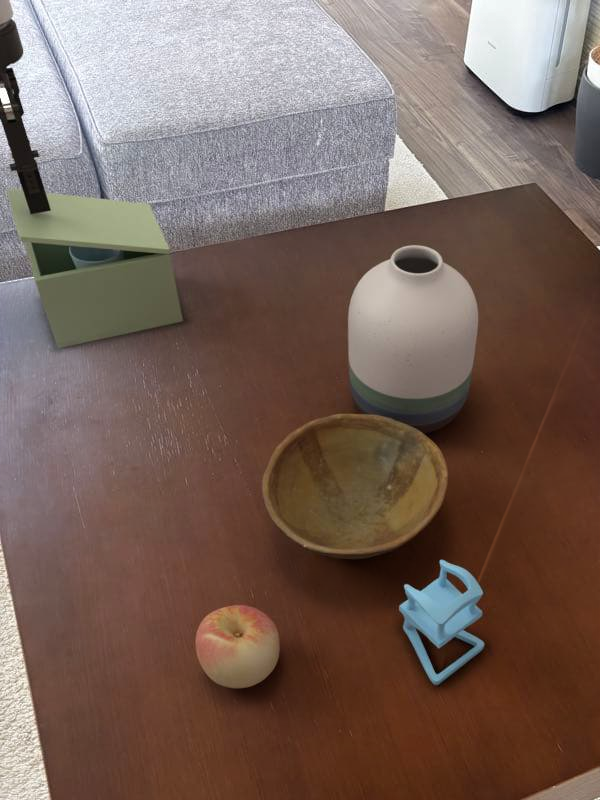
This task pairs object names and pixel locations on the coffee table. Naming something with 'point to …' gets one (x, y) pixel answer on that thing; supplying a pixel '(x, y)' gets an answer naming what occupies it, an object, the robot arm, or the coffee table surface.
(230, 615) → the apple
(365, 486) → the bowl
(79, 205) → the lid
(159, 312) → the chest
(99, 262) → the cup
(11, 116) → the robot arm
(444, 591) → the chair
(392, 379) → the vase
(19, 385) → the coffee table surface
